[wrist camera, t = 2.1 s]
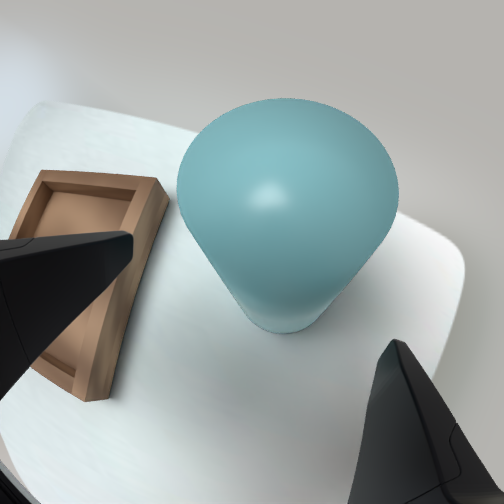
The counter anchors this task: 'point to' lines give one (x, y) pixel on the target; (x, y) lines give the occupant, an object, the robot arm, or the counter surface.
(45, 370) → the tray
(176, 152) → the counter surface
